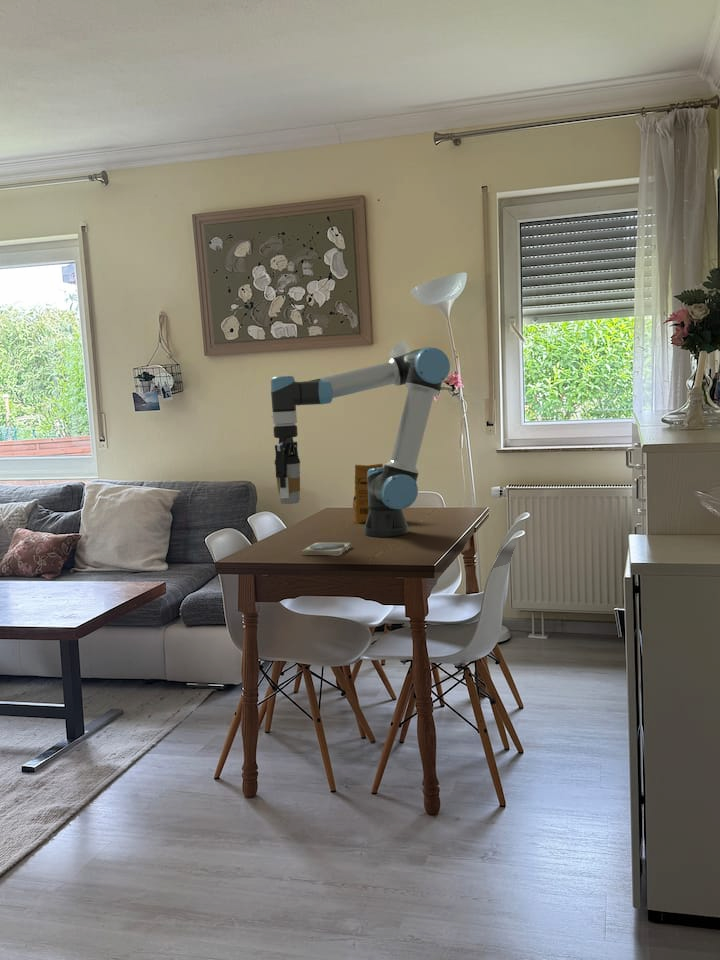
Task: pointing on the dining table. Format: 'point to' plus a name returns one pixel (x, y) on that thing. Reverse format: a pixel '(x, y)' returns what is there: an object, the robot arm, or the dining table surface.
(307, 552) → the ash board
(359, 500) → the coffee package
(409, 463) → the robot arm
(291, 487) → the coffee cup
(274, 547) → the dining table surface
